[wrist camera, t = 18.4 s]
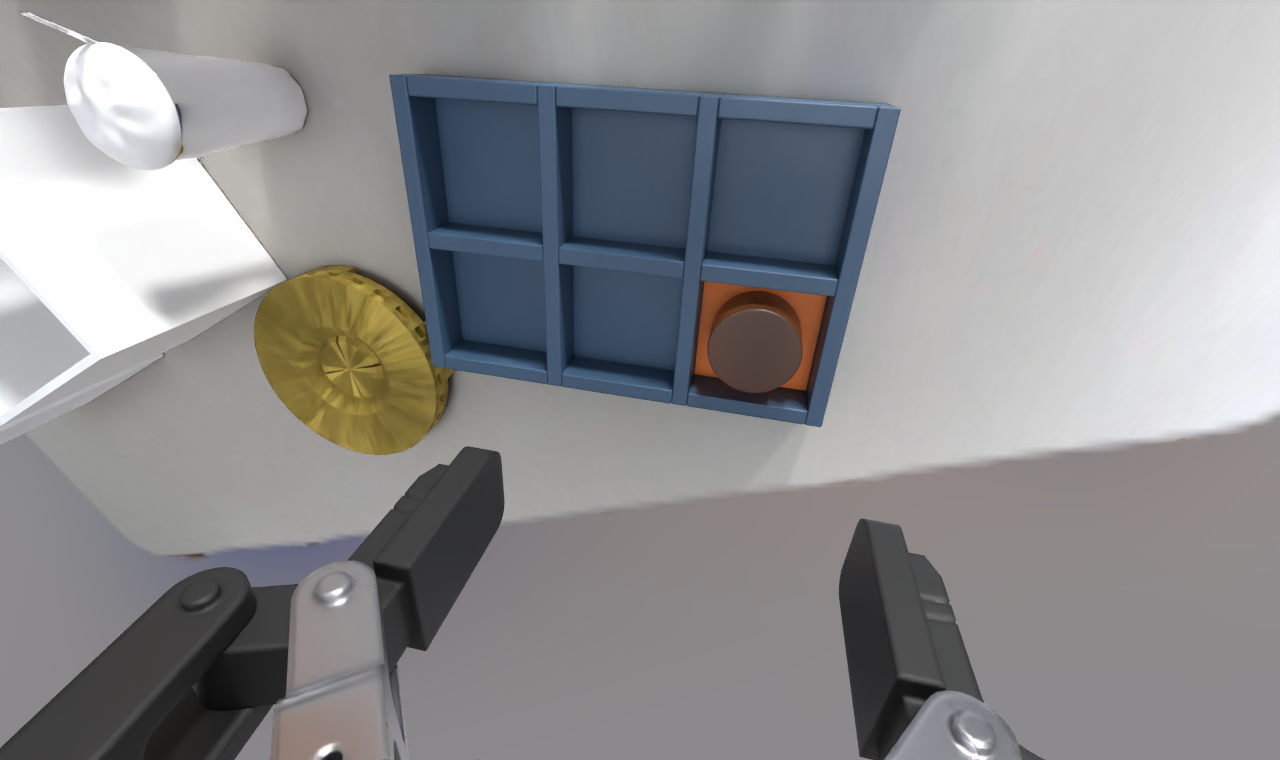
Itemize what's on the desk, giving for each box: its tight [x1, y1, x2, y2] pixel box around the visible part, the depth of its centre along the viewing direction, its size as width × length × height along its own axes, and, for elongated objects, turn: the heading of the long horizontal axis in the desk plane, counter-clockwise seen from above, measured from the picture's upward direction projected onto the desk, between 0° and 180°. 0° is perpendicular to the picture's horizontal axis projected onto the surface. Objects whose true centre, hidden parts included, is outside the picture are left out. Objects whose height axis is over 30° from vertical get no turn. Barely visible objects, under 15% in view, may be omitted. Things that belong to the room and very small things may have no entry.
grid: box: [390, 74, 901, 427], centre depth 28 cm, size 21×14×3 cm
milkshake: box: [20, 11, 308, 170], centre depth 25 cm, size 4×5×10 cm
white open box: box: [0, 105, 287, 445], centre depth 33 cm, size 25×11×11 cm, turn 118°
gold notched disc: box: [254, 265, 454, 455], centre depth 35 cm, size 12×12×2 cm
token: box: [707, 291, 803, 393], centre depth 28 cm, size 4×4×2 cm
